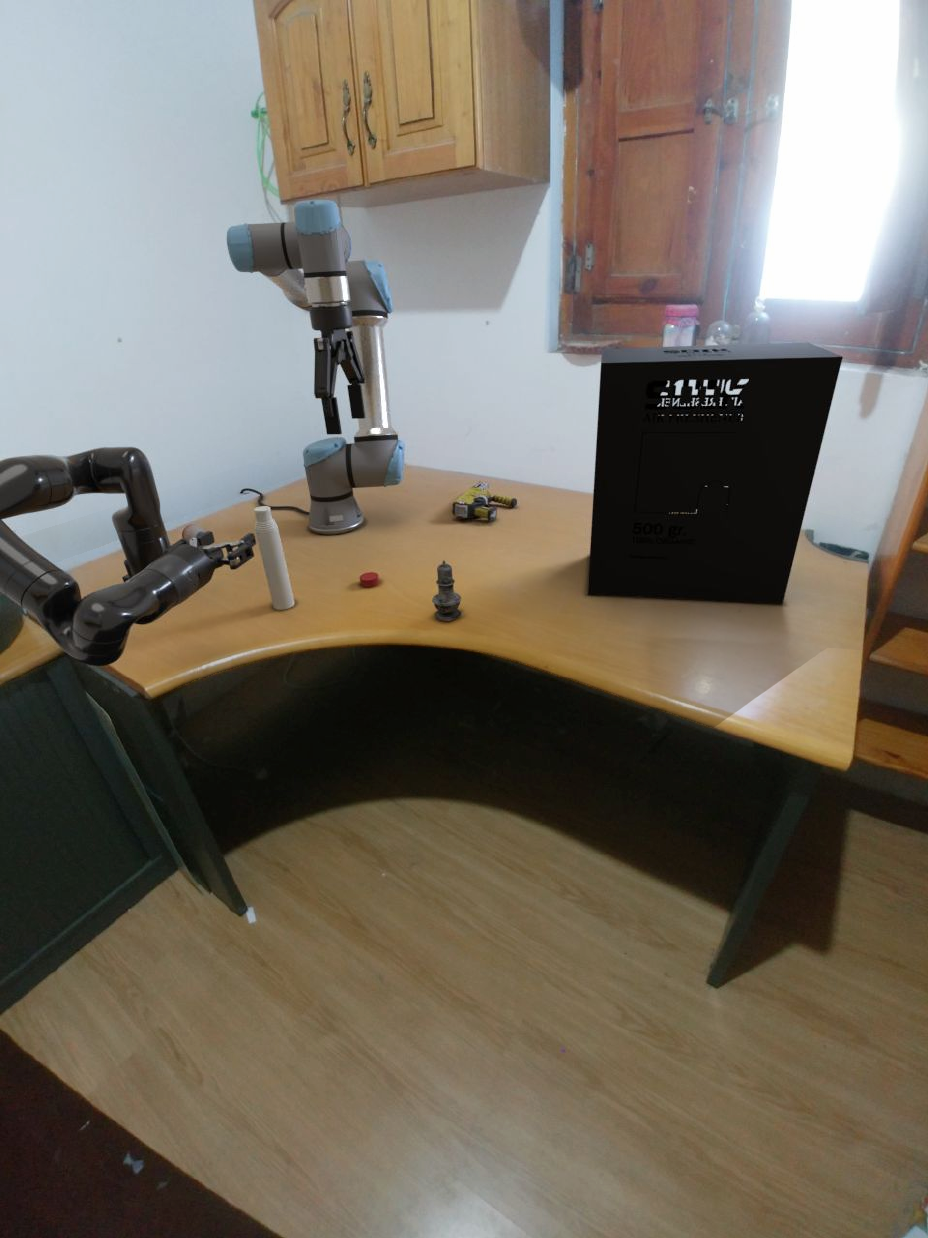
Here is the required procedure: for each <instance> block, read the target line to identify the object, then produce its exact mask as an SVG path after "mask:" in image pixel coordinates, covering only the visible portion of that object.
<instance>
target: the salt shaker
mask: <svg viewBox="0 0 928 1238" xmlns="http://www.w3.org/2000/svg"><path fill="white" fill-rule="evenodd" d="M436 573H437V574H436V575H437V579H436V582H435V583H436V585H437V587H438V588H437V589H438V590H437V591H438V593H437V594H435V595H434V596H433V597H432V598H431V601H432V604H433V605H434V606H433V607H434V608H435V609H436V611H435V613H434V617H435V618H436V620H439V621H443V622H449V621H451V622H452V621H455V620H458V618H460V617H461V615H462V612H461V610H460V609H459V607H460V604H461V601H462V596H461V595H460V594H459V593H458V592H455V589H454V584H455V579H454V578H453V567H452V565H450V564H449V563H447V562H446V560H443V561H442V562H441V564H439V565H438V566H437V568H436Z"/></svg>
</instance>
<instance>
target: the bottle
mask: <svg viewBox="0 0 928 1238" xmlns="http://www.w3.org/2000/svg"><path fill="white" fill-rule="evenodd" d="M268 506H269V505H268ZM268 506H261V505H260V506H258V507H255V508H253V509H254V511H253V513H254V515H255V519H256V520H255V525H254V532H255V535H256V541H257V544H258V548H259V552H260V557H261V560H262V566H263V569H264V573H265V578H266V582H267V586H268V591H269V594H270V598H271V603H272V607H273V609H275V610H278V611H285V610H289V609H291V608H292V607H294V606H295V604H296V603H295V598H294V594H293V590H292V584H291V580H290V576H289V570H288V566H287V562H286V557H285V553H284V548H283V544H282V540H281V534H280V530H279V526H278V524H277V522H276V520H275V519H274V518H273V517H272V509H270V507H268Z"/></svg>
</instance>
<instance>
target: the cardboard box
mask: <svg viewBox="0 0 928 1238" xmlns="http://www.w3.org/2000/svg"><path fill="white" fill-rule="evenodd" d="M843 358H844V356H842V355H840V354H838V353H835V352H832V351H830V350H828V349H825V348H824V347H823V348H822V347H820V346H818V345H815V344H813V343H810V342H777V343H776V342H775V343H774V342H773V343H744V344H743V343H741V344H716V345H715V344H713V345H711V344H709V345H684V346H683V345H679V346H676V345H675V346H650V347H649V346H648V347H647V346H646V347H617V348H616V347H615V348H614V347H613V348H602V349H601V359H600V373H599V374H600V375H599V389H598V390H599V391H598V392H599V393H598V408H597V411H598V412H597V426H596V442H595V457H594V459H595V461H594V477H593V478H594V479H593V496H592V512H591V527H590V547H589V561H588V562H589V563H588V579H587V580H588V581H587V595H588V596H589V595H590V596H610V597H631V598H649V599H650V598H651V599H667V600H687V601H688V600H689V601H707V602H708V601H709V602H728V603H729V602H730V603H746V604H747V603H751V604H768V605H783V604H784V601H785V597H786V591H787V588H788V583H789V580H790V575H791V573H792V567H793V563H794V558H795V555H796V551H797V547H798V543H799V537H800V534H801V530H802V526H803V522H804V517H805V514H806V509H807V506H808V501H809V497H810V495H811V494H810V493H811V489H812V486H813V481H814V477H815V472H816V469H817V464H818V460H819V455H820V452H821V448H822V445H823V440H824V435H825V432H826V428H827V423H828V420H829V415H830V411H831V407H832V403H833V399H834V395H835V391H836V386H837V382H838V378H839V374H840V370H841V366H842V362H843ZM742 380H747V381H746V382H745V383H743V384H742V383H741V384H739V383H740V382H741V381H742ZM679 381H682V385H681V388H680V394H676V393H677V392H676V391H677V382H679ZM690 381H695V383H694V386H693V385H690ZM705 381H707V384H706V385H704V384H705ZM728 382H729V388H728V391H729V392H734V390H740V391H739V392H738V393H736V394H735V393H733V394H731V393H730V394H729V393H727V390H726V388H727V384H728ZM693 389H694V390H697V393H696V394H693ZM707 390H708V391H713V394H707ZM663 393H666V394H663Z"/></svg>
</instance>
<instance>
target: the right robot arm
mask: <svg viewBox="0 0 928 1238" xmlns="http://www.w3.org/2000/svg"><path fill="white" fill-rule="evenodd" d="M293 215H294V216H293V217H294V221H286V222H285V221H284V222H267V223H245V222H244V223H243V224H237V225H232V226H230V227H228V229H227V231H226V246H227V252H228V255H229V258H230V261H231V264H232V266H233V267H234V269H235V270H236V271H237V272H240V273H250V274H253V273H260V274H262V275H263V276H264V277H265V278H267V279H268V281H270V282H272V283H273V284H274V285H276V286H277V287H278V288H279V289H280V290H282V293H283V295H284V296H285V297H286V299H287V300H288V301H289V302H290V303H291V304H292V305H294V306H295V307H297V308H299V309H301V310H303V311H306V312H308V313H309V319H310V325H311V328H312V330H313V331H317V332H318V331H319V332H320V333H321V334H320V336H321V337H314V338H313V347H314V348H313V349H314V380H313V382H314V383H313V395H314V397H315V399H320V401H321V406H322V412H323V419H324V426H325V433H326V435H342V434H343V432H342V424H341V419H340V411H339V406H338V404H339V403H338V397H337V396H335V390H336V382H337V376H338V375H337V374H338V366H340V367H341V369H342V371H343V373H344V375H345V378H346V380H347V382H348V384H347V385H346V387H347V394H348V399H349V400H348V401H349V409H350V414H351V419H353V420H354V419H357V424H358V429H357V431H356V433H354V435H353V443H352V442H351V443H347V440H346V439H345V437H342V436H340V437H339V436H335V437H333V436H332V437H328V438H323V439H320V440H316V441H314V442H312V443H309V444H308V445H306V446H305V447H304V448H303V450H302V457H303V459H302V460H303V467H304V471H305V477H306V481H307V486H308V492H309V498H310V507H309V511H307V510H303V509H301V508H300V507H298V506H291V505H279V506H278V505H277V506H275V505H273V506H272V505H267V504H264V503H263V502H262V499H263V497H264V494H263V493H262V492H260V491H258V490H257V489H254V488H248V487H246V488H243V489H241V490H240V492H239V494H243V493H244V492H252V493H255V494H257V495H258V496H259V497H258V499H257V502H258V504H259V505H260V506H268V507H270V509H271V510H280V509H281V510H286V509H287V510H295V511H298V512H299V513H301V514H304V515H308V523H307V524H308V528H309V529H308V530H310V531H311V532H312V533H314V534H317V535H323V536H324V535H325V536H327V535H329V536H331V535H339V534H340V535H341V534H345V533H350V532H353V531H355V530H357V529H359V528H361V527H362V526H363V525H364V523H365V519H364V514H363V512H362V510H361V508H360V505H359V504H358V501H357V500H356V498H355V495H354V489H360V488H379V487H381V488H382V487H383V488H387V487H391V486H398V485H400V484H401V482H402V481H403V478H404V470H405V469H404V468H405V442H404V440H402V439H399V434H398V432H397V431H396V430H395V429H394V427H392V417H391V405H390V395H389V384H388V371H387V361H386V350H385V340H384V328H385V326H387V324H388V323H389V314H390V315H391V313H393V312H394V306H393V299H392V295H391V290H390V289H391V288H390V285H389V281H388V276H387V272H386V268H385V266H384V264H383V263H382V262H381V261H379V260H365V259H362V260H350V261H349V259H350V258H351V255H352V252H353V242H352V238H351V235H350V233H349V231H348V230H347V228H346V227H345V226H344V225H343V224H341V223H342V220H341V217H340V213H339V208H338V204H337V202H335V201H334V200H331V199H330V200H329V199H310V200H309V199H308V200H301V201H298V202H296V203H295V204H294V206H293Z"/></svg>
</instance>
